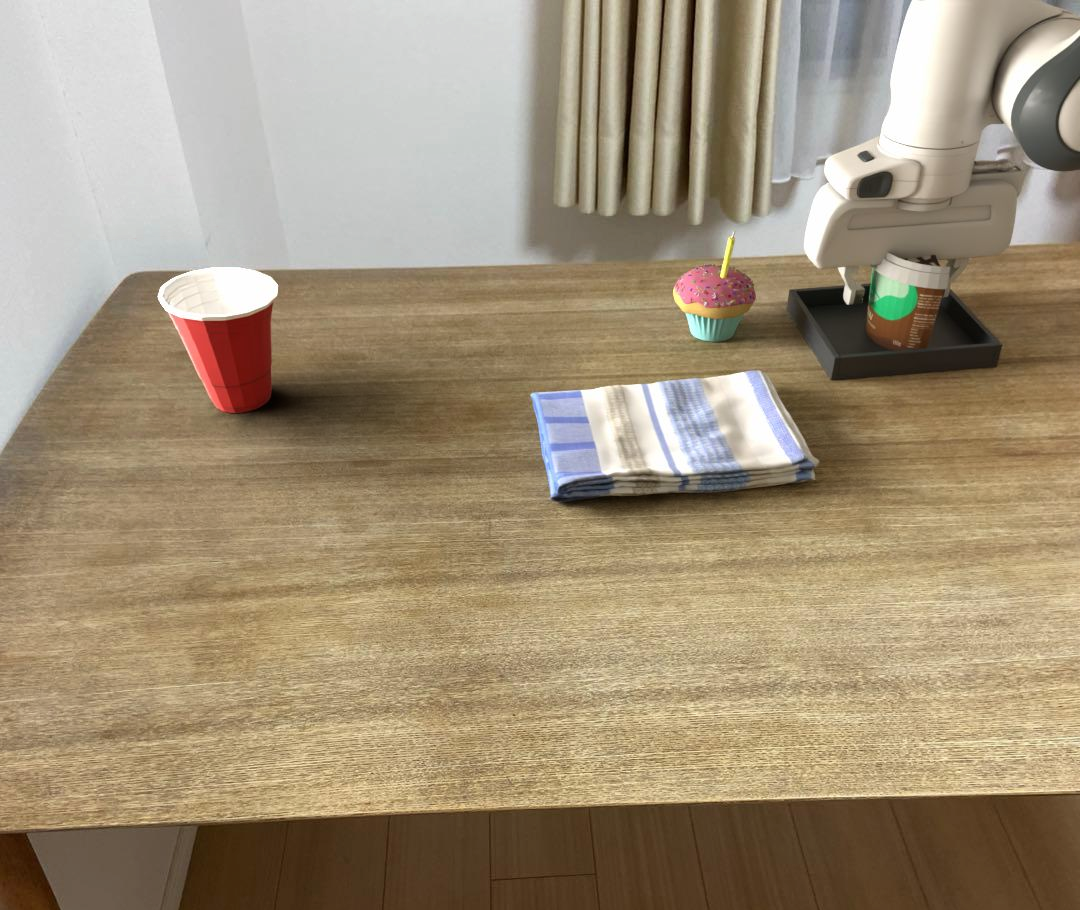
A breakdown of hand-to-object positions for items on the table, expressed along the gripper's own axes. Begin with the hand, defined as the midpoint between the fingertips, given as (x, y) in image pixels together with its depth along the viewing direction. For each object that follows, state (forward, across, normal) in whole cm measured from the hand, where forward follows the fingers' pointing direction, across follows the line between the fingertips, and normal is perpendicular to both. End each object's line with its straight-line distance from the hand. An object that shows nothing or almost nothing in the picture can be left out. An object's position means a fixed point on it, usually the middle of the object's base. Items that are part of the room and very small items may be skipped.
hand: (894, 298), depth 105 cm
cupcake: (+5, +18, -4) cm, 19 cm away
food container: (+4, 0, 0) cm, 4 cm away
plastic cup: (+5, +67, +2) cm, 67 cm away
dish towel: (+5, +27, +16) cm, 32 cm away
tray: (+4, 0, 0) cm, 4 cm away
